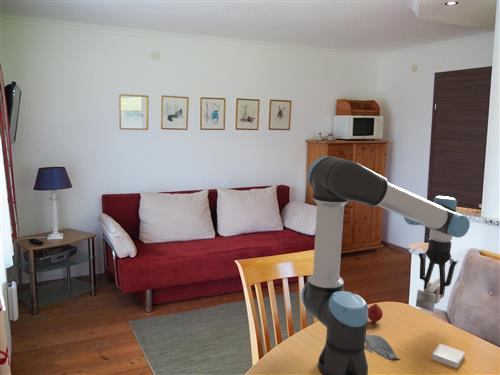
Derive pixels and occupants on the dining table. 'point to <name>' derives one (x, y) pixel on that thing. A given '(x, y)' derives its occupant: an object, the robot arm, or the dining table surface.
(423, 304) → the scraper
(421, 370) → the dining table surface
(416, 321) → the dining table surface
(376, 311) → the onion
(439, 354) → the tile
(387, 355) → the stone slab
